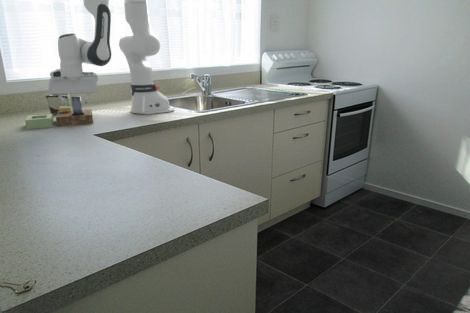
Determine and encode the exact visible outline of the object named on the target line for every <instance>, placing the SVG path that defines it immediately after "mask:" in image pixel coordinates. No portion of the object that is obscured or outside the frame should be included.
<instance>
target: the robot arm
mask: <svg viewBox="0 0 470 313" xmlns="http://www.w3.org/2000/svg"><path fill="white" fill-rule="evenodd" d="M123 3H124V4H123V5H124V6H123V7H124V15H125V16H124V18H125V21H126V23H127V24H128V25H129V26H130V30H131V32H132V33H131V32H130V33H127V34H124V35H123V36H121V37H120V39H119V41H118V46H119V49H120V51H121V52H122V53H123V55H124V56H125V59H126V62H127V65H128V69H129V73H130V94H131V106H130V113H133V114H140V115H141V114H142V115H152V114H162V113H168V112H174V111H175V108H174V106H171V105H170V101H169V98H168V97H167V96H166V95H164V94H163V93H161V92H160V91H159V89H160V86H159V85H158V84H156V83H154V77H153V76H154V75H153V68H152V66H151V65H150V64H149V62H148V60H147V58H148V57H151V56H155V55H157V54H158V53H159V52H160V50H161V49H160V48H161V44H160V40H159V38H158V37H157V36H156V34H155V33H154V31H153V28H152V26H151V22H150V15H149V6H148V4H149V3H148V0H123ZM110 4H111V0H83V6H84V8H85V10H87V12H88V13H90V14H91V15H92V16H93V18H94V37H93V38H94V39H93V41H89V40H86V39H84V38H82V37H80V36H79V35H78V34H77V33H66V34H61V35H60V36H58V40H57V50H58V57H59V59H60V60H59V61H60V63H59V66H60V67H59V69H55V70H52V71H50V73H49V76H50V78H49V81H48V94H58V96H59V98H60V99H61V100H62V104H66V100H63V98H62V94H69V95H72V94H73V95H74V94H75V95H76V94H86V96H87V97H86V98H84V103H85V104H89V99H90V97H91V94H97V93H98V92H99V87H98V83H97V82H98V74H97V73H96V72H94V71H83V65H82V64H87V65H88V64H89V65H94V66H97V67H104V66H106V65H108V64H109V63H110V62H111V59H112V50H111V44H110V39H111V24H112V23H111V20H112V19H111V18H112V16H111V9H110V8H111V7H110V6H111V5H110Z"/></svg>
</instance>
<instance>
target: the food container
mask: <svg viewBox="0 0 470 313" xmlns="http://www.w3.org/2000/svg"><path fill="white" fill-rule="evenodd" d="M62 98H63V100H66V104H62V100H61V99H60V98H59V96H58V94H50V93H45V99H46V100H47V105H48V108H49V109H48V110H49V112H50V113H49V114H52V115H57V112H58V111H59V107H60V106H70V99H71V96H70V94H62ZM68 111H69V110H68Z"/></svg>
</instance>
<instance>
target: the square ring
mask: <svg viewBox="0 0 470 313" xmlns="http://www.w3.org/2000/svg"><path fill="white" fill-rule="evenodd" d="M53 115H54V114H51V113H48V114H33V115H27V116H26V118H25V120H24V123H25V129H26V130H33V129H37V130H38V129H47V128H48V129H49V128H53V126H54V117H53Z"/></svg>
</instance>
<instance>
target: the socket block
mask: <svg viewBox="0 0 470 313" xmlns="http://www.w3.org/2000/svg"><path fill="white" fill-rule="evenodd" d="M82 111H83V115H75V116H74V115H73V109H71V110H69V111H68V112H67V113H63V111H58V112H57V114H56V116H55V120H56V126H57V127H67V126H79V124H80V125H90V124H89V123H93V124H94V118H93V110H92V109H91V108H88V109H87V108H85V109H82Z"/></svg>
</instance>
